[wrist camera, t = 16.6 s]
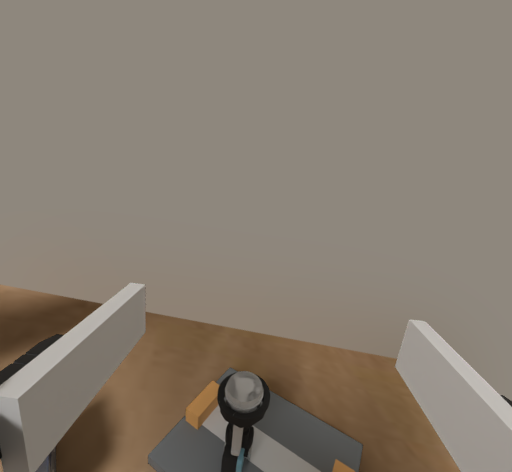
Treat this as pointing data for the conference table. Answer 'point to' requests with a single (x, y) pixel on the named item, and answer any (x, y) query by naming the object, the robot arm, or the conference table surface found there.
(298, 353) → the conference table surface
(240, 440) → the push button
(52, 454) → the mini dv tape
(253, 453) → the mounting panel
